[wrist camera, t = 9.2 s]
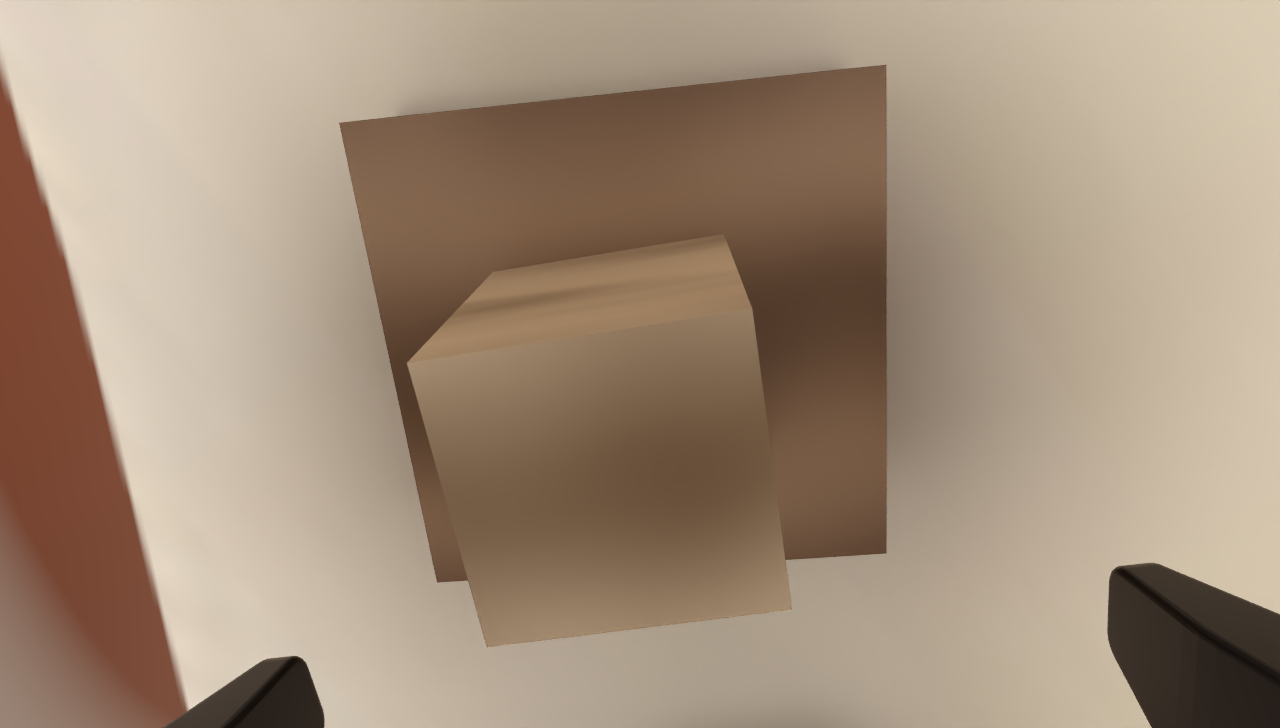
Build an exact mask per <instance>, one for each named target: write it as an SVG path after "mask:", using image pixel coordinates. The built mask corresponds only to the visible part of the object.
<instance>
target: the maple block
mask: <svg viewBox="0 0 1280 728" xmlns="http://www.w3.org/2000/svg"><path fill="white" fill-rule="evenodd" d="M407 365H408V369H409V372H410V376H411V379H412V383H413V386H414V390H415V393H416V397H417V401H418V404H419V408H420V411H421V415H422V418H423V422H424V425H425V429H426V433H427V436H428V440H429V443H430V447H431V450H432V454H433V457H434V461H435V465H436V468H437V472H438V475H439V479H440V482H441V486H442V489H443V493H444V496H445V500H446V504H447V507H448V511H449V514H450V518H451V521H452V525H453V528H454V532H455V536H456V539H457V543H458V546H459V550H460V553H461V557H462V560H463V564H464V568H465V571H466V575H467V578H468V582H469V585H470V589H471V592H472V596H473V600H474V603H475V607H476V610H477V614H478V617H479V621H480V624H481V628H482V632H483V635H484V639H485V642H486V646H487V647H492V646H500V645H508V644H516V643H524V642H532V641H540V640H548V639H557V638H565V637H573V636H581V635H589V634H597V633H605V632H613V631H621V630H629V629H638V628H646V627H654V626H662V625H670V624H678V623H686V622H694V621H702V620H710V619H718V618H727V617H735V616H743V615H751V614H759V613H767V612H775V611H783V610H791V609H792V607H791V600H790V592H789V585H788V577H787V569H786V562H785V554H784V546H783V539H782V531H781V524H780V516H779V508H778V501H777V493H776V485H775V478H774V470H773V463H772V455H771V447H770V440H769V432H768V424H767V417H766V409H765V402H764V394H763V386H762V379H761V371H760V363H759V356H758V348H757V341H756V333H755V325H754V318H753V310H752V307H751V304H750V301H749V299H748V296H747V294H746V291H745V288H744V286H743V283H742V280H741V278H740V275H739V273H738V270H737V267H736V265H735V262H734V259H733V257H732V254H731V252H730V249H729V246H728V244H727V241H726V239H725V236H724V234H720V235H714V236H707V237H701V238H695V239H689V240H683V241H677V242H671V243H665V244H659V245H653V246H647V247H641V248H635V249H628V250H622V251H616V252H610V253H604V254H598V255H592V256H586V257H580V258H574V259H568V260H562V261H556V262H550V263H544V264H538V265H532V266H526V267H519V268H513V269H507V270H501V271H495V272H492V273H491V274H490V275H489V276H488V277H487V279H486V280H485V281H484V282H483V283H482V284H481V285H480V286H479V287H478V288H477V289H476V290H475V291H474V292H473V293H472V294H471V296H470V297H469V298H468V299H467V300H466V301H465V302H464V303H463V304H462V305H461V306H460V307H459V308H458V309H457V310H456V311H455V312H454V314H453V315H452V316H451V317H450V318H449V319H448V320H447V321H446V322H445V323H444V324H443V325H442V326H441V327H440V328H439V329H438V331H437V332H436V333H435V334H434V335H433V336H432V337H431V338H430V339H429V340H428V341H427V342H426V343H425V344H424V345H423V346H422V347H421V349H420V350H419V351H418V352H417V353H416V354H415V355H414V356H413V357H412V358H411V359H410V360H409V361H408V362H407Z"/></svg>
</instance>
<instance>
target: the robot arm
mask: <svg viewBox="0 0 1280 728" xmlns="http://www.w3.org/2000/svg"><path fill="white" fill-rule="evenodd" d="M1107 631H1108V640H1109V644H1110V647H1111V650H1112V653H1113V655H1114V657H1115V659H1116V661H1117V663H1118V665H1119V667H1120V668H1121V670H1122V672H1123V674H1124V676H1125V678H1126V680H1127V682H1128V684H1129V686H1130V687H1131V689H1132V691H1133V693H1134V695H1135V697H1136V699H1137V701H1138V703H1139V705H1140V706H1141V708H1142V710H1143V712H1144V714H1145V716H1146V718H1147V720H1148V722H1149V723H1150V725H1151V727H1152V728H1280V614H1278V613H1275V612H1273V611H1270V610H1268V609H1266V608H1263V607H1261V606H1258V605H1256V604H1254V603H1251V602H1249V601H1246V600H1244V599H1242V598H1239V597H1237V596H1234V595H1232V594H1229V593H1227V592H1225V591H1222V590H1220V589H1217V588H1215V587H1213V586H1210V585H1208V584H1205V583H1203V582H1201V581H1198V580H1196V579H1193V578H1191V577H1188V576H1186V575H1184V574H1181V573H1179V572H1176V571H1174V570H1172V569H1169V568H1167V567H1164V566H1162V565H1159V564H1156V563H1144V564H1135V565H1126V566H1118V567H1116V568H1115V569H1114V570H1113V571H1112V573H1111V575H1110V580H1109V600H1108V627H1107ZM164 728H324V713H323V709H322V706H321V703H320V700H319V697H318V695H317V692H316V689H315V686H314V683H313V680H312V678H311V675H310V672H309V669H308V667H307V664H306V662H305V661H304V660H303V659H302V658H300V657H298V656H289V657H280V658H271V659H266V660H263V661H261V662H260V663H258V664H257V665H255V666H254V667H252V668H251V669H249V670H248V671H246V672H245V673H243V674H242V675H240V676H239V677H237V678H236V679H234V680H233V681H232V682H230V683H229V684H227V685H226V686H224V687H223V688H221V689H220V690H218V691H217V692H215V693H214V694H212V695H211V696H209V697H208V698H206V699H205V700H204V701H202V702H201V703H199V704H198V705H196V706H195V707H193V708H192V709H190V710H189V711H187V712H186V713H184V714H183V715H181V716H180V717H178V718H177V719H176V720H174V721H173V722H171V723H170V724H168V725H167V726H165V727H164Z"/></svg>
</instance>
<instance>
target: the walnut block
mask: <svg viewBox="0 0 1280 728" xmlns="http://www.w3.org/2000/svg"><path fill="white" fill-rule="evenodd" d="M339 124H340V128H341V133H342V138H343V143H344V147H345V152H346V157H347V161H348V166H349V171H350V175H351V180H352V185H353V189H354V194H355V199H356V204H357V208H358V213H359V218H360V222H361V227H362V232H363V236H364V241H365V246H366V250H367V255H368V260H369V265H370V269H371V274H372V279H373V283H374V288H375V293H376V297H377V302H378V307H379V311H380V316H381V321H382V325H383V330H384V335H385V340H386V344H387V349H388V354H389V358H390V363H391V368H392V372H393V377H394V382H395V386H396V391H397V396H398V401H399V405H400V410H401V415H402V419H403V424H404V429H405V433H406V438H407V443H408V447H409V452H410V457H411V462H412V466H413V471H414V476H415V480H416V485H417V490H418V494H419V499H420V504H421V508H422V513H423V518H424V522H425V527H426V532H427V537H428V541H429V546H430V551H431V555H432V560H433V565H434V569H435V574H436V579H437V582H450V581H465V580H468V578H467V575H466V571H465V568H464V564H463V560H462V557H461V553H460V550H459V546H458V543H457V539H456V536H455V532H454V528H453V525H452V521H451V518H450V514H449V511H448V507H447V504H446V500H445V496H444V493H443V489H442V486H441V482H440V479H439V475H438V472H437V468H436V465H435V461H434V457H433V454H432V450H431V447H430V443H429V440H428V436H427V433H426V429H425V425H424V422H423V418H422V415H421V411H420V408H419V404H418V401H417V397H416V393H415V390H414V386H413V383H412V379H411V376H410V372H409V369H408V365H407V362H408V361H409V360H410V359H411V358H412V357H413V356H414V355H415V354H416V353H417V352H418V351H419V350H420V349H421V347H422V346H423V345H424V344H425V343H426V342H427V341H428V340H429V339H430V338H431V337H432V336H433V335H434V334H435V333H436V332H437V331H438V329H439V328H440V327H441V326H442V325H443V324H444V323H445V322H446V321H447V320H448V319H449V318H450V317H451V316H452V315H453V314H454V312H455V311H456V310H457V309H458V308H459V307H460V306H461V305H462V304H463V303H464V302H465V301H466V300H467V299H468V298H469V297H470V296H471V294H472V293H473V292H474V291H475V290H476V289H477V288H478V287H479V286H480V285H481V284H482V283H483V282H484V281H485V280H486V279H487V277H488V276H489V275H490V274H491V273H492V272H495V271H501V270H507V269H513V268H519V267H526V266H532V265H538V264H544V263H550V262H556V261H562V260H568V259H574V258H580V257H586V256H592V255H598V254H604V253H610V252H616V251H622V250H628V249H635V248H641V247H647V246H653V245H659V244H665V243H671V242H677V241H683V240H689V239H695V238H701V237H707V236H714V235H720V234H724V236H725V239H726V241H727V244H728V246H729V249H730V252H731V254H732V257H733V259H734V262H735V265H736V267H737V270H738V273H739V275H740V278H741V280H742V283H743V286H744V288H745V291H746V294H747V296H748V299H749V301H750V304H751V307H752V310H753V318H754V325H755V333H756V341H757V348H758V356H759V363H760V371H761V379H762V386H763V394H764V402H765V409H766V417H767V424H768V432H769V440H770V447H771V455H772V463H773V470H774V478H775V485H776V493H777V501H778V508H779V516H780V524H781V531H782V539H783V546H784V554H785V560H791V559H806V558H822V557H837V556H853V555H868V554H884V553H886V65H881V66H871V67H861V68H851V69H841V70H832V71H822V72H813V73H803V74H794V75H784V76H775V77H766V78H756V79H747V80H737V81H728V82H718V83H709V84H699V85H690V86H681V87H671V88H662V89H652V90H643V91H633V92H624V93H615V94H605V95H596V96H586V97H577V98H567V99H558V100H549V101H539V102H530V103H520V104H511V105H501V106H492V107H482V108H473V109H464V110H454V111H445V112H435V113H426V114H416V115H407V116H398V117H388V118H379V119H370V120H361V121H352V122H343V123H339Z"/></svg>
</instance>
